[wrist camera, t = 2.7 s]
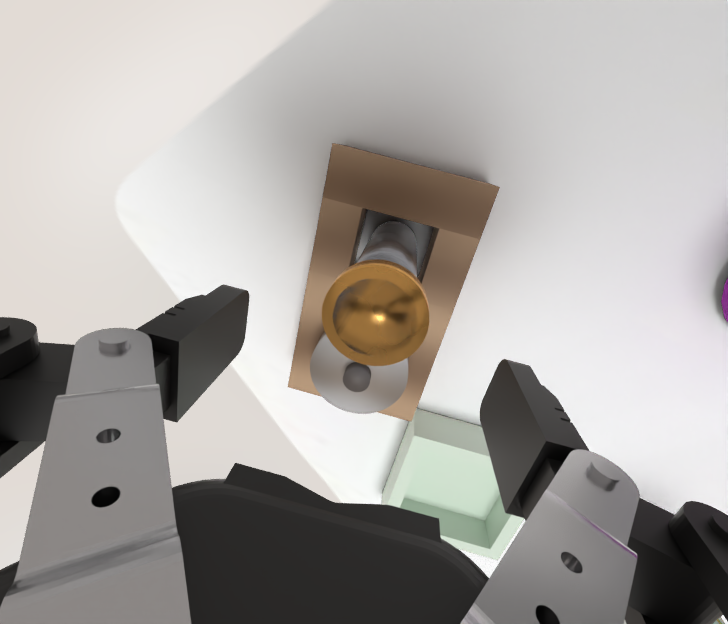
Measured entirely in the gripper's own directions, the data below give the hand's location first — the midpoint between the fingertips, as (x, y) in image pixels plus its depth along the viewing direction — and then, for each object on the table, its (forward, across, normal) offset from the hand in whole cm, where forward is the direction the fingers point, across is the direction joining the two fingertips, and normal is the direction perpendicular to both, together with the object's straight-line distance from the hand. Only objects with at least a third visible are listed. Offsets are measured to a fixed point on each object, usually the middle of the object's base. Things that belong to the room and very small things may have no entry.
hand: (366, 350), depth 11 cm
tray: (+14, -10, +17) cm, 24 cm away
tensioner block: (+14, 0, +2) cm, 14 cm away
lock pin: (+14, 0, 0) cm, 14 cm away
